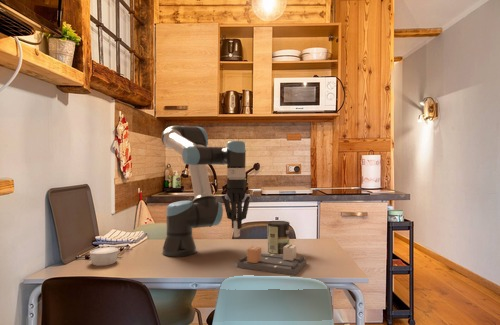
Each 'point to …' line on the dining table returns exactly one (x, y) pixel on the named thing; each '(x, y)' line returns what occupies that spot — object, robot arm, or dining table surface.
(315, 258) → the dining table surface
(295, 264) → the console
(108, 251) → the ramekin
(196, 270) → the dining table surface
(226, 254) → the dining table surface
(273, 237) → the coffee can
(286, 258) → the off-white fader knob
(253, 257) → the terracotta fader knob
